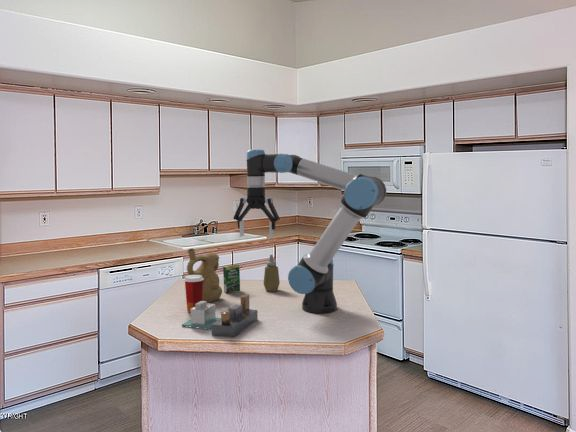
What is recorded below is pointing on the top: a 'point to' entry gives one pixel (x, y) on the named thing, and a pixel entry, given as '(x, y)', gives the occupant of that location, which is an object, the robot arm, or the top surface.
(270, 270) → the squeeze bottle
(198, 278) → the coffee cup
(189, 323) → the rubber mat
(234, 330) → the hand plane
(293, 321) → the top surface
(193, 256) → the ceramic vessel
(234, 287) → the coffee box
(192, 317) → the lever cap
